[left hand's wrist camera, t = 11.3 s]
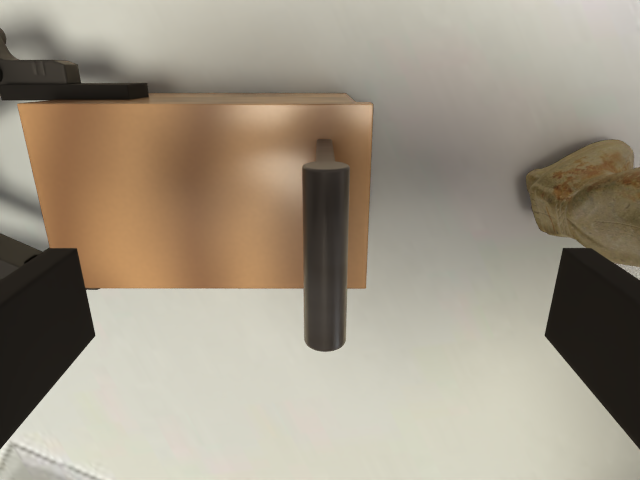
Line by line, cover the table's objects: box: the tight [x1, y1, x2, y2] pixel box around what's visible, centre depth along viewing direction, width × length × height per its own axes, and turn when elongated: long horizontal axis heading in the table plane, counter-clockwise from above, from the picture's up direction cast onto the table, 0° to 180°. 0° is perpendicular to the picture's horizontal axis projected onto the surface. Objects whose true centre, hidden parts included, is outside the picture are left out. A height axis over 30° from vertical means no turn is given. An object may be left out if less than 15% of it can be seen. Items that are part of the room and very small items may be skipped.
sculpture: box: [526, 140, 640, 267], centre depth 25 cm, size 6×7×15 cm
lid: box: [17, 102, 373, 352], centre depth 19 cm, size 16×9×9 cm, turn 90°
